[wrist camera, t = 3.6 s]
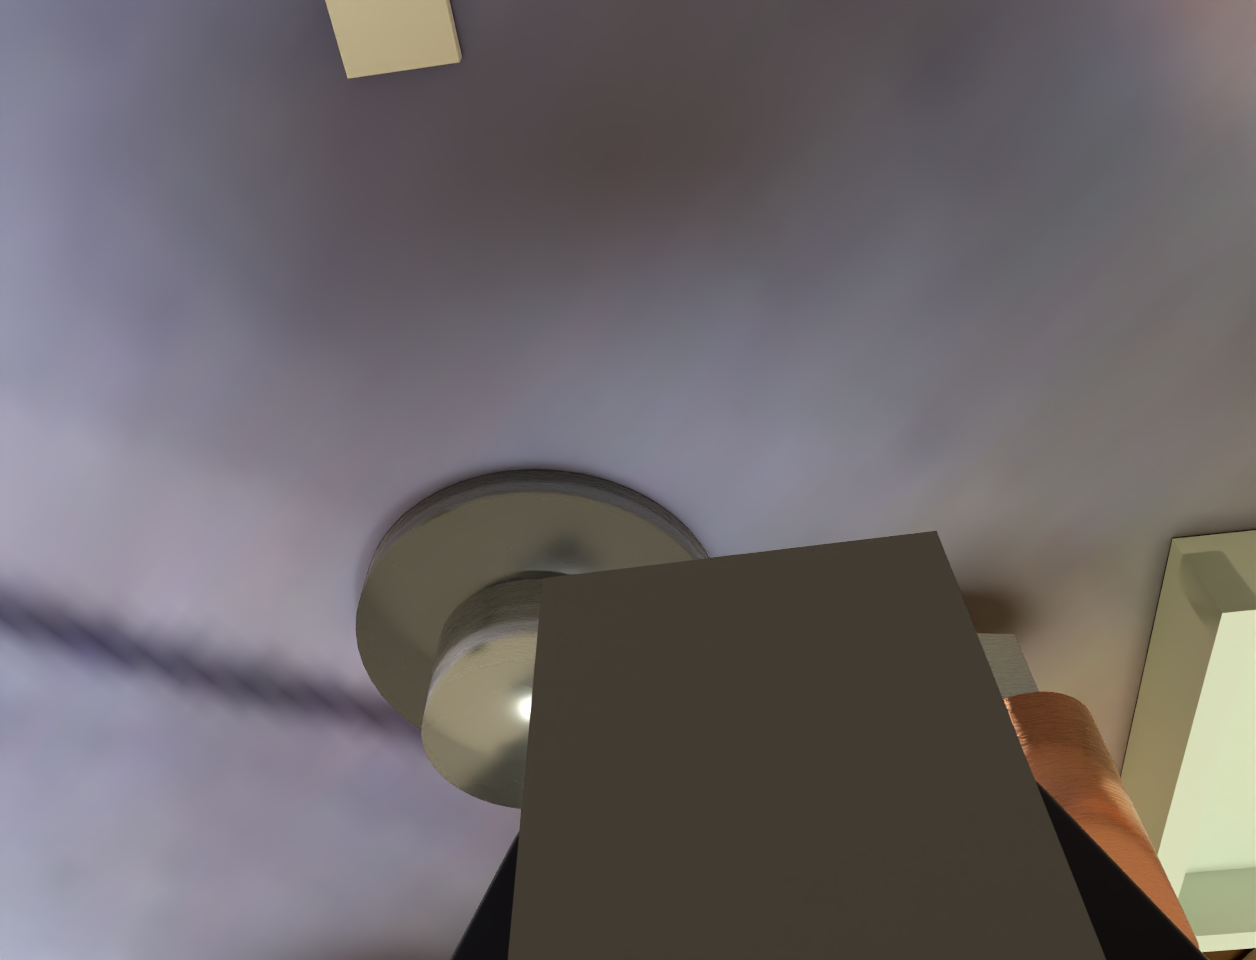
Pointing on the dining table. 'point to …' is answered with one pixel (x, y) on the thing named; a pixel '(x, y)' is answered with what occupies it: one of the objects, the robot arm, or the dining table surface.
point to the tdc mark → (393, 35)
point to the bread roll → (1250, 955)
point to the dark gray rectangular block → (781, 770)
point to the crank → (501, 703)
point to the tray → (1202, 736)
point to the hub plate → (495, 560)
